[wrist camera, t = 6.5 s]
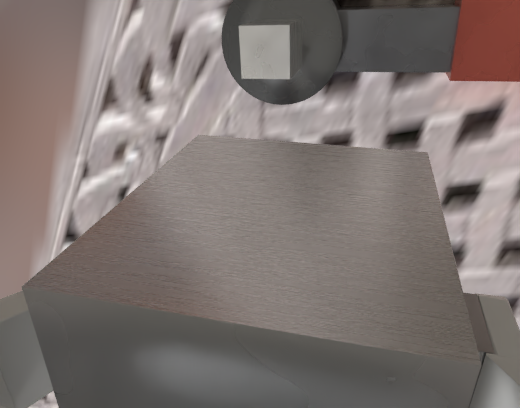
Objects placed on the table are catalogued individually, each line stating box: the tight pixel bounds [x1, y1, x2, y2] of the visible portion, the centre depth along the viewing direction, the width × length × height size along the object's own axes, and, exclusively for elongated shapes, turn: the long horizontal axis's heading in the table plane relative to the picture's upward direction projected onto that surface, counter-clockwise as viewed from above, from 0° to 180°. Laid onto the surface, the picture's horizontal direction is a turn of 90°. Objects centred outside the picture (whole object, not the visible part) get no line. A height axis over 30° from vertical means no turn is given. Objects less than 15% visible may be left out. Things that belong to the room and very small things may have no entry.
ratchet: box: [222, 0, 520, 105], centre depth 20 cm, size 17×6×6 cm, turn 93°
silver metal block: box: [22, 135, 482, 408], centre depth 9 cm, size 5×5×6 cm
